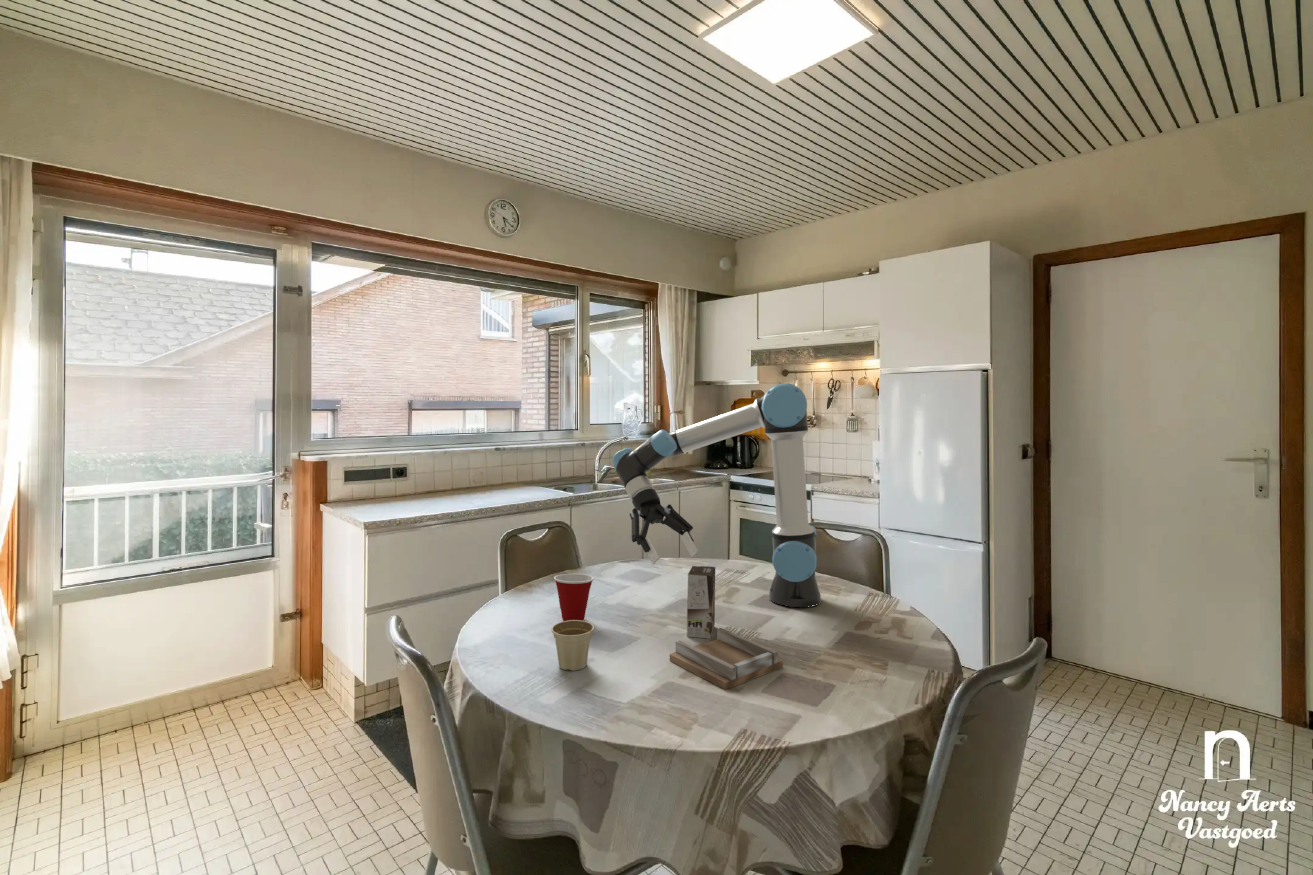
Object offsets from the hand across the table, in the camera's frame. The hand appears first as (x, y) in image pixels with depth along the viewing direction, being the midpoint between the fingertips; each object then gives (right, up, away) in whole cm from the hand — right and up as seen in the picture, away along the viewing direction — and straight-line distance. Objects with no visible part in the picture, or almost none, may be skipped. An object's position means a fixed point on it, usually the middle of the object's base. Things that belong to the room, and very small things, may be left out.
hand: (675, 557), depth 165 cm
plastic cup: (-28, -17, +1) cm, 33 cm away
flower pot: (-24, -19, -28) cm, 42 cm away
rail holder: (+10, -19, -27) cm, 34 cm away
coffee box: (+6, -18, -7) cm, 20 cm away
